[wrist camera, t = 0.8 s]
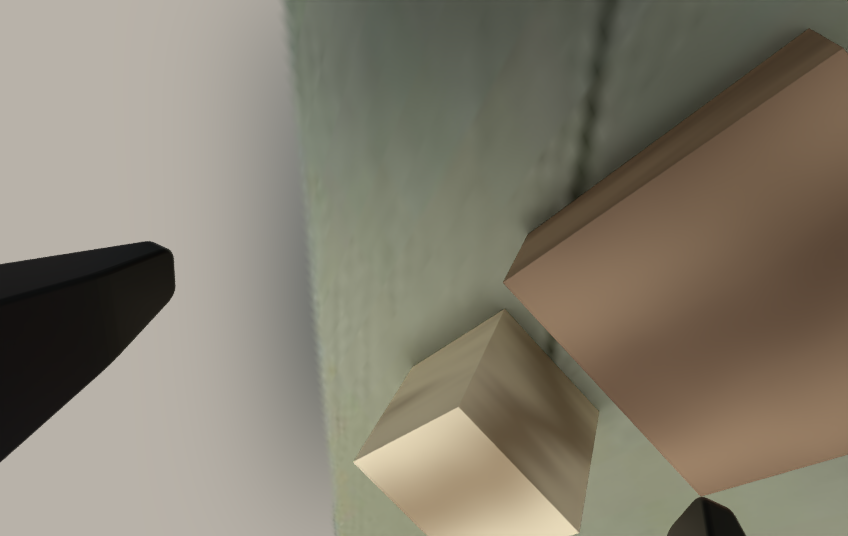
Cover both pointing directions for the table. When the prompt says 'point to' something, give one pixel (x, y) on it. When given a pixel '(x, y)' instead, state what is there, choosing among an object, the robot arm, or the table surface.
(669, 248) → the walnut block
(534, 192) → the table surface
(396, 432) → the maple cube
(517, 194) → the table surface
